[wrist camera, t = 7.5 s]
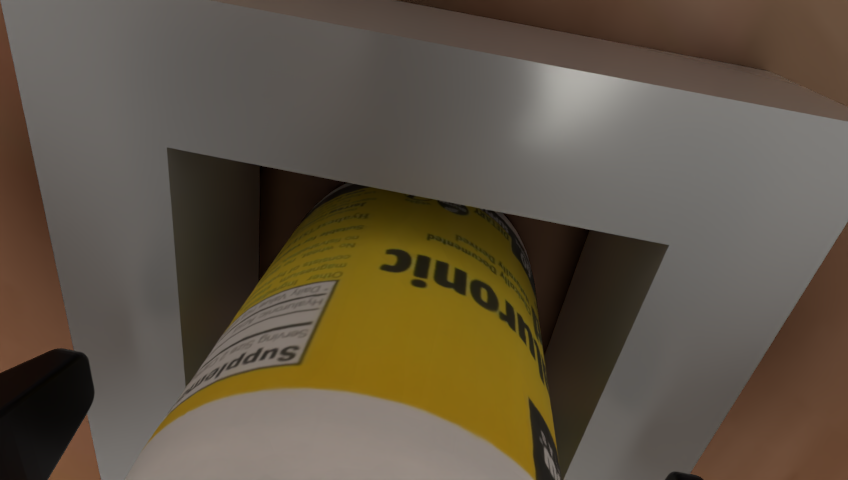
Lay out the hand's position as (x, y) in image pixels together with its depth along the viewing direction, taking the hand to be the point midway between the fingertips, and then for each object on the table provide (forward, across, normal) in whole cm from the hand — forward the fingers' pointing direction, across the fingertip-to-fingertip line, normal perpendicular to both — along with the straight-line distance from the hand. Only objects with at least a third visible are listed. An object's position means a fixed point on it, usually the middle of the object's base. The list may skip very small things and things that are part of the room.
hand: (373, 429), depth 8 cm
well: (+4, 0, 0) cm, 4 cm away
